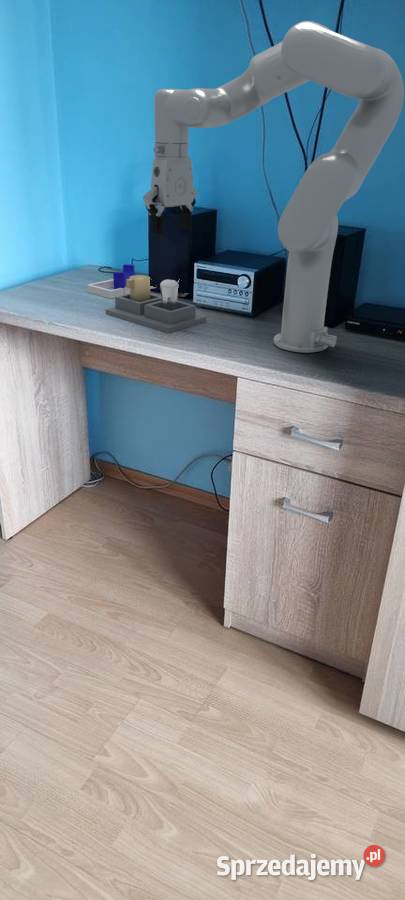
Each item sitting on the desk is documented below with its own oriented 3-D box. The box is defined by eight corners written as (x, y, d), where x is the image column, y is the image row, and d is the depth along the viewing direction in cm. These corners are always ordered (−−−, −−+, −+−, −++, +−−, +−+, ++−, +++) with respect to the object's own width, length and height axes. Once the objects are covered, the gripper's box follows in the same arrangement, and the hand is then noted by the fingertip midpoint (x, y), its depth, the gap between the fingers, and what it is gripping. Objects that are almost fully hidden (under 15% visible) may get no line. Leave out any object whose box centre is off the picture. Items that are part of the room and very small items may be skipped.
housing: (206, 321, 168) (207, 284, 163) (168, 333, 158) (168, 294, 154) (144, 303, 180) (144, 269, 176) (105, 313, 170) (104, 277, 166)
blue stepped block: (120, 284, 198) (119, 263, 195) (134, 285, 197) (134, 264, 195) (108, 293, 187) (108, 272, 185) (124, 294, 187) (123, 273, 184)
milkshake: (173, 321, 163) (173, 280, 158) (156, 316, 165) (156, 276, 161) (184, 317, 166) (185, 277, 161) (167, 313, 169) (168, 273, 164)
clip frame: (156, 287, 196) (156, 280, 195) (110, 298, 184) (110, 291, 183) (132, 281, 201) (132, 274, 201) (87, 291, 189) (86, 284, 188)
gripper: (156, 154, 140) (157, 237, 148) (209, 151, 152) (207, 229, 160) (132, 151, 144) (133, 233, 152) (184, 149, 156) (184, 225, 164)
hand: (171, 231), depth 156 cm, fingers open, 9 cm apart
